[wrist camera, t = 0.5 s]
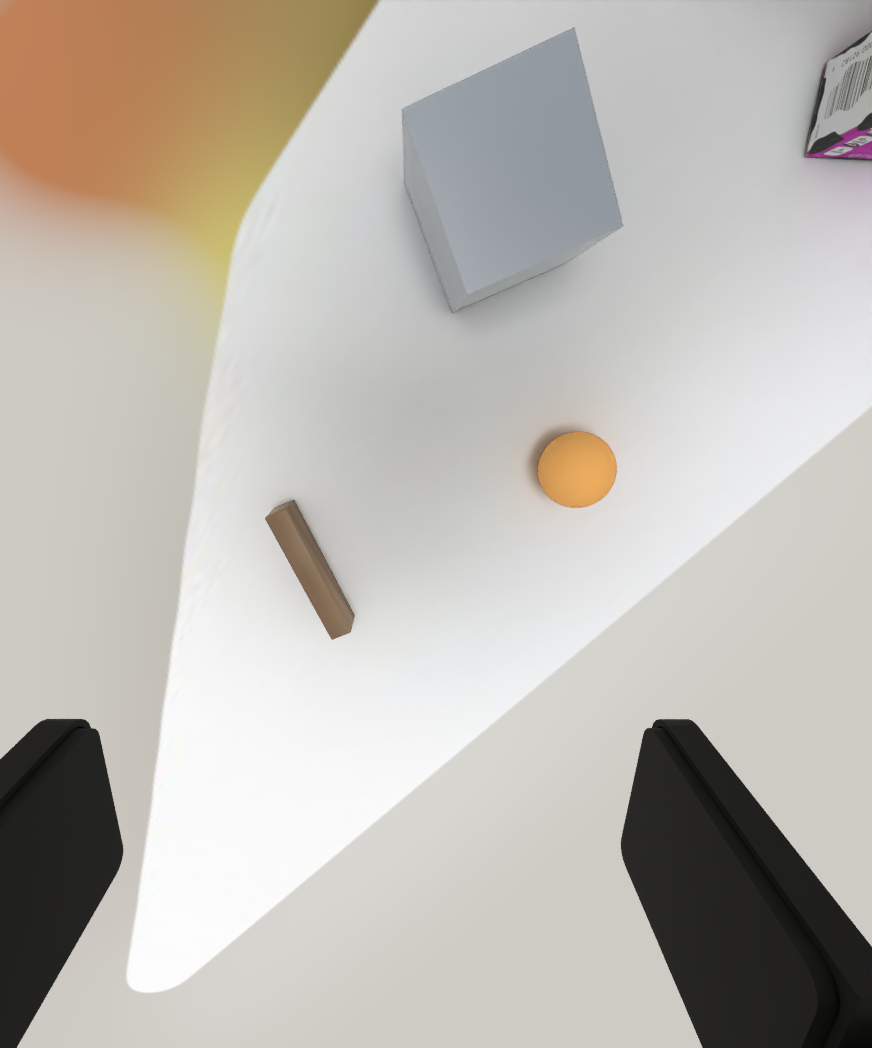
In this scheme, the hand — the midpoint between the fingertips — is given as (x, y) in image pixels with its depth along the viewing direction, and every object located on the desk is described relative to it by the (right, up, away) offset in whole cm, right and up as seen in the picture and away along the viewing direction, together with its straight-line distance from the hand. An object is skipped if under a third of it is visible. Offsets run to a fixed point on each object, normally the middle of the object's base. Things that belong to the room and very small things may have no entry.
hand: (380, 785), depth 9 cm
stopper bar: (-8, +2, +28) cm, 29 cm away
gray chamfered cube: (+4, +23, +21) cm, 32 cm away
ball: (+10, +8, +24) cm, 27 cm away
